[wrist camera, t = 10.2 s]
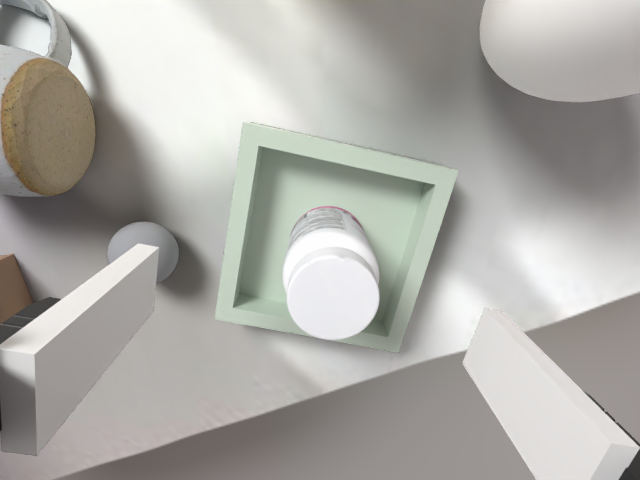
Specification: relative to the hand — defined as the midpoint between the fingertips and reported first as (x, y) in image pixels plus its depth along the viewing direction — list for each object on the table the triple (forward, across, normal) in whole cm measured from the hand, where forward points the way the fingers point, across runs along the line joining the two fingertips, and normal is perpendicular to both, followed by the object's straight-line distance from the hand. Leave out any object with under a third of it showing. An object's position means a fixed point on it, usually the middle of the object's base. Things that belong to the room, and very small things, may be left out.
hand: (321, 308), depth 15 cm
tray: (+10, +1, 0) cm, 10 cm away
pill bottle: (+9, +1, 0) cm, 10 cm away
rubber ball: (+9, -10, -3) cm, 14 cm away
